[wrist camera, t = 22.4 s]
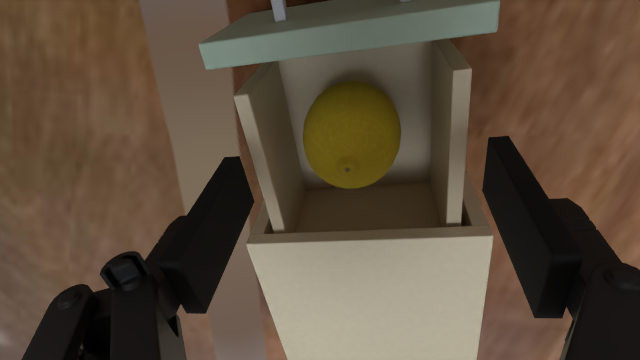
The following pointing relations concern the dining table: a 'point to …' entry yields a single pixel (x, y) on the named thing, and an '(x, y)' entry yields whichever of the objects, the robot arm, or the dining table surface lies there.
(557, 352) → the dining table surface
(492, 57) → the dining table surface
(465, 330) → the cabinet
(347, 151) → the lemon
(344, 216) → the drawer
